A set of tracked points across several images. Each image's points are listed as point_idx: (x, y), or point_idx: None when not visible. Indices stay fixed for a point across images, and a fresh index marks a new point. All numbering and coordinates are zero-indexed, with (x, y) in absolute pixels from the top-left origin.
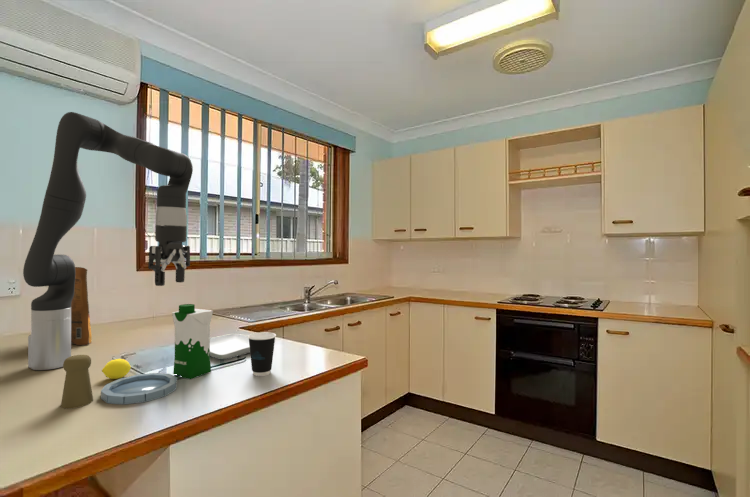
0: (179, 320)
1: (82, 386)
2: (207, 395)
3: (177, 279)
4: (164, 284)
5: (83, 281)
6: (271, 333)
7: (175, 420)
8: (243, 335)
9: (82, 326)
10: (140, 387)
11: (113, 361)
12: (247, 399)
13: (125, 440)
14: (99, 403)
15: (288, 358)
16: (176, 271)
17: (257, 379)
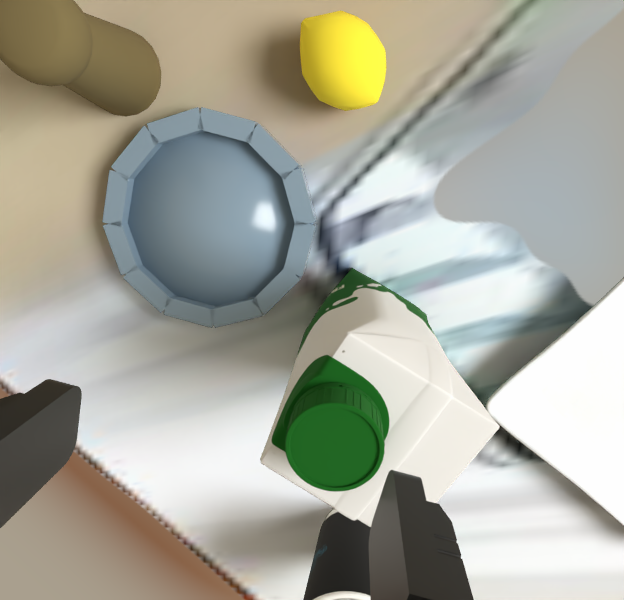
0: (301, 376)
1: (72, 90)
2: (177, 417)
3: (386, 503)
4: (65, 461)
5: None
6: None
7: (33, 385)
8: None
9: None
10: (212, 220)
11: (319, 49)
12: (151, 513)
13: None
14: (121, 145)
15: (499, 592)
16: (400, 573)
17: (294, 521)
